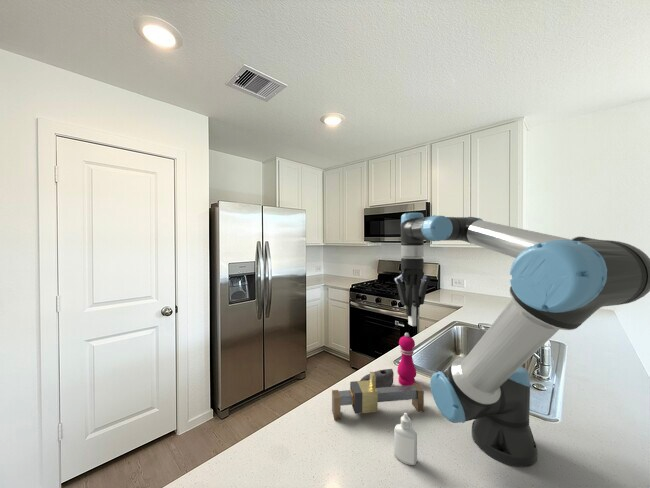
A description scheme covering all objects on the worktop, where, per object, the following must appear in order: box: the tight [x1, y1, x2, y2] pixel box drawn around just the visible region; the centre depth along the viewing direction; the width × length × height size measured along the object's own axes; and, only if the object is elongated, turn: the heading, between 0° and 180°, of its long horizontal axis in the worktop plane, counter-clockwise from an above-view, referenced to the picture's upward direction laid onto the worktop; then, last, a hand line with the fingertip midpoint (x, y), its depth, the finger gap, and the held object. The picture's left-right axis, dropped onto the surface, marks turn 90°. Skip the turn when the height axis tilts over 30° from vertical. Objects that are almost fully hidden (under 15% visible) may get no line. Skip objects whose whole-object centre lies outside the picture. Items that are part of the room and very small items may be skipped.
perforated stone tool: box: [359, 368, 395, 388], centre depth 100 cm, size 15×5×7 cm, turn 105°
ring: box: [349, 380, 363, 415], centre depth 87 cm, size 2×7×7 cm, turn 7°
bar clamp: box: [331, 383, 425, 421], centre depth 88 cm, size 30×4×7 cm, turn 98°
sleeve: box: [356, 371, 379, 414], centre depth 87 cm, size 5×7×11 cm
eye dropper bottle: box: [393, 412, 418, 466], centre depth 69 cm, size 4×6×12 cm
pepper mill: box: [396, 332, 417, 386], centre depth 105 cm, size 7×7×20 cm
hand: (412, 324), depth 93 cm, fingers closed
